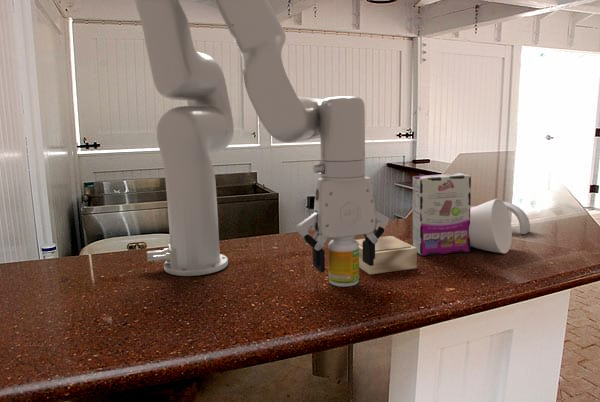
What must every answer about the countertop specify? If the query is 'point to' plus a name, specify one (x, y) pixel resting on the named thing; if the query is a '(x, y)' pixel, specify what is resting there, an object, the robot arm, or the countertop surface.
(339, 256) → the supplement bottle
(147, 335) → the countertop surface
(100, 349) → the countertop surface
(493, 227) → the rocket engine
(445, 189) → the candy bar box
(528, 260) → the countertop surface
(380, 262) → the plinth
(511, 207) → the spoon rest
